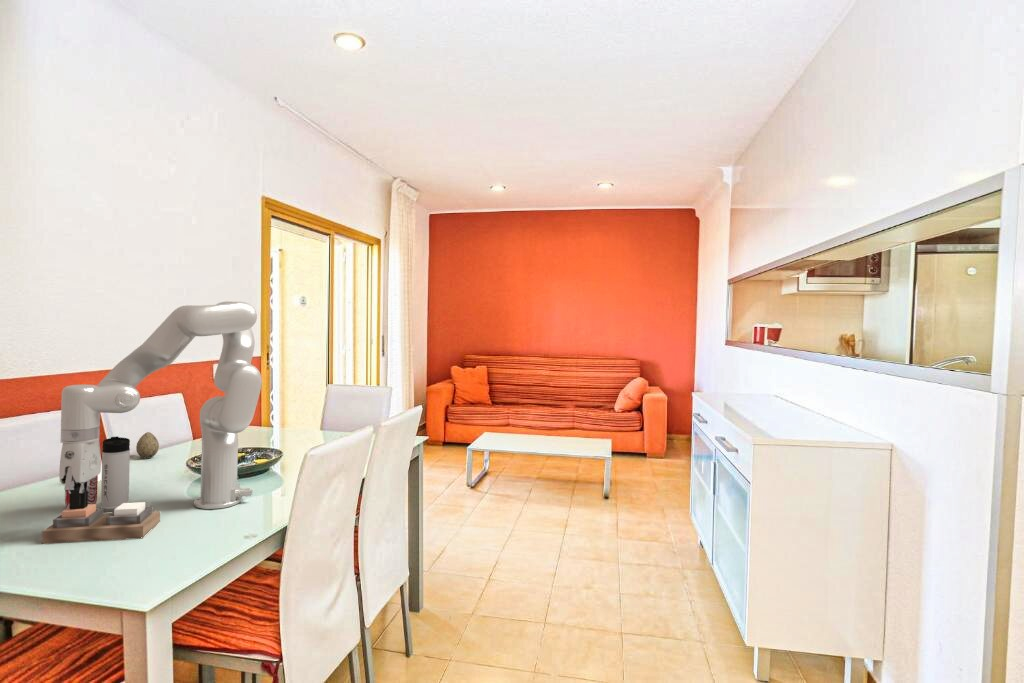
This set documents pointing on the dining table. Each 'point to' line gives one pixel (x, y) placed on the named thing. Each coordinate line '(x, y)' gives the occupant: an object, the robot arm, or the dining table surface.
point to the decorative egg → (147, 445)
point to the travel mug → (115, 473)
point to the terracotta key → (79, 512)
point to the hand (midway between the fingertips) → (78, 507)
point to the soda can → (91, 492)
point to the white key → (129, 509)
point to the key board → (101, 527)
